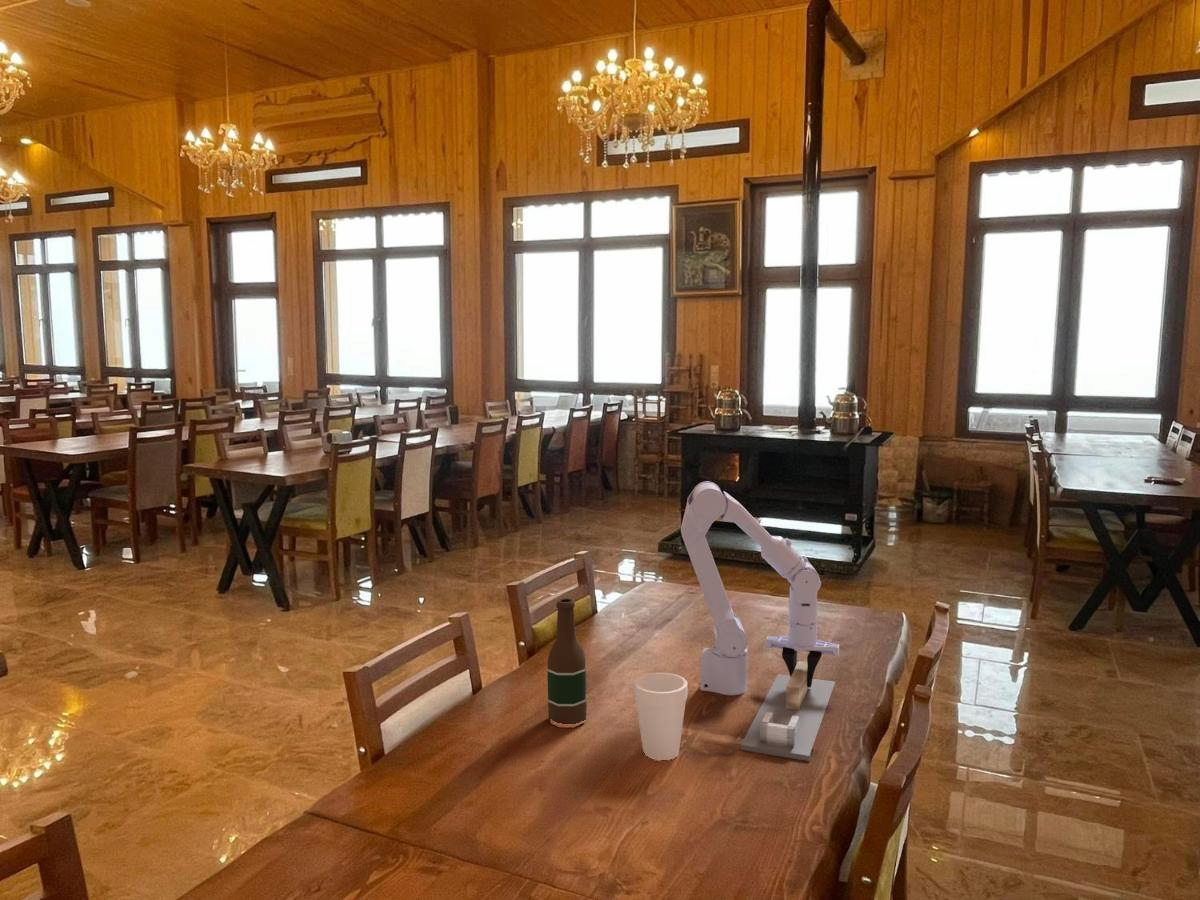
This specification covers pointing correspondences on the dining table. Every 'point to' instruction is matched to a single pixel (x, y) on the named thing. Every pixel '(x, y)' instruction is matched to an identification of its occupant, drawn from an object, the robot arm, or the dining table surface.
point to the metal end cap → (779, 731)
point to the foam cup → (660, 713)
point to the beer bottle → (566, 670)
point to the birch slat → (797, 686)
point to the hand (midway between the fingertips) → (801, 684)
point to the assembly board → (808, 718)
